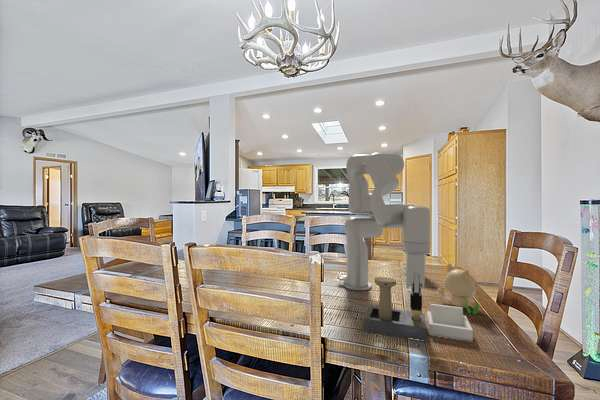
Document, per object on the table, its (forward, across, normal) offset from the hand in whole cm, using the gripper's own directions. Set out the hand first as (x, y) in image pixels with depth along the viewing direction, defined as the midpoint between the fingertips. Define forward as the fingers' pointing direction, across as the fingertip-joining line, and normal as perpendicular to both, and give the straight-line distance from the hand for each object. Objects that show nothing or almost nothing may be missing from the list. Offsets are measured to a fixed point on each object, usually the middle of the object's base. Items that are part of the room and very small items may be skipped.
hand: (416, 307), depth 84 cm
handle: (+8, 0, -9) cm, 12 cm away
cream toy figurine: (+8, -27, +16) cm, 32 cm away
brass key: (+7, 0, 0) cm, 7 cm away
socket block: (+7, 0, -6) cm, 10 cm away
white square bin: (+7, -4, +9) cm, 12 cm away
